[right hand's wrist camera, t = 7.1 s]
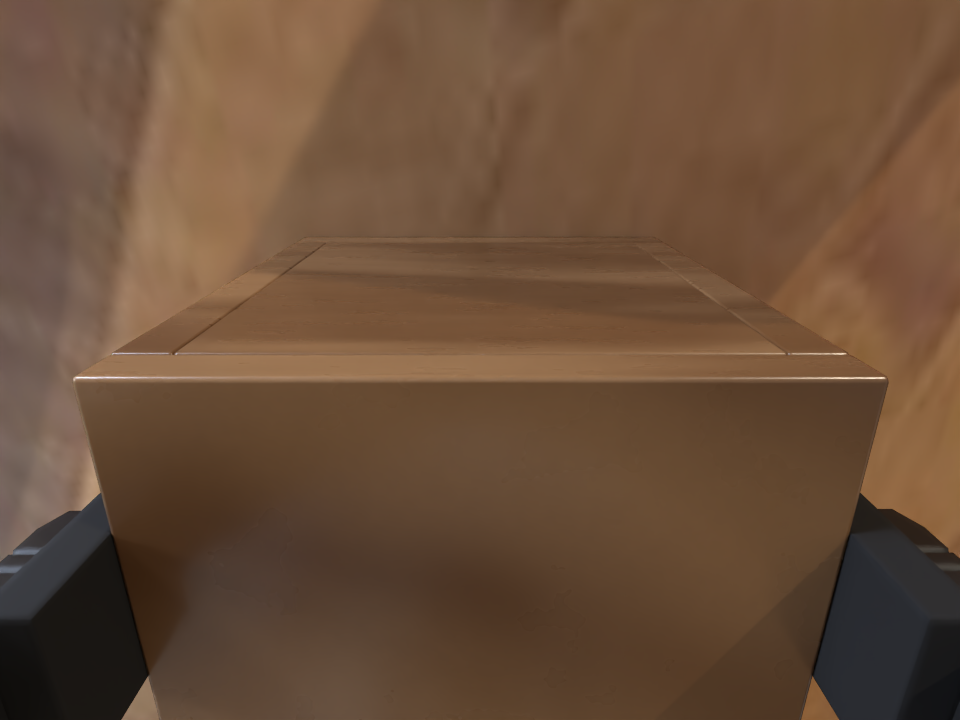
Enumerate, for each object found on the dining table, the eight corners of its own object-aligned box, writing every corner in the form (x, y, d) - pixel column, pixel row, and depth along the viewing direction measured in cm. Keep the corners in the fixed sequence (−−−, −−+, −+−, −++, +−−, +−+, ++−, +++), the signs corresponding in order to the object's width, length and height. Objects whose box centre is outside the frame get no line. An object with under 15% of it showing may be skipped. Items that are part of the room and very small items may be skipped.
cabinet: (603, 749, 26) (687, 1164, 15) (356, 749, 26) (273, 1164, 15) (656, 236, 18) (893, 377, 8) (303, 237, 18) (67, 377, 8)
